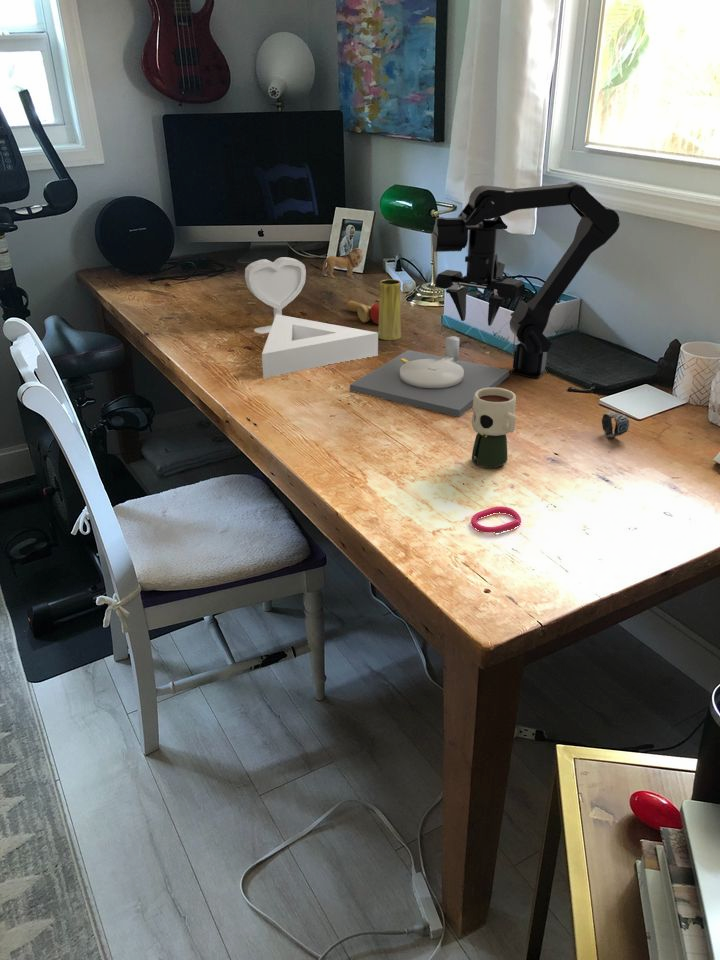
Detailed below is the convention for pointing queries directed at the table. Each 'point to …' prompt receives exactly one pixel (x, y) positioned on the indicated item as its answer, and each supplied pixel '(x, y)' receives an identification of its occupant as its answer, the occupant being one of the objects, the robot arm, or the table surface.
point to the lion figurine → (343, 262)
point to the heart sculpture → (275, 283)
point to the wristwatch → (620, 426)
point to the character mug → (492, 425)
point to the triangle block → (313, 345)
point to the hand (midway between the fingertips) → (476, 322)
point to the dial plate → (441, 400)
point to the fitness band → (497, 528)
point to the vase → (389, 310)
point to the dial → (435, 369)
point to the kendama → (365, 311)
